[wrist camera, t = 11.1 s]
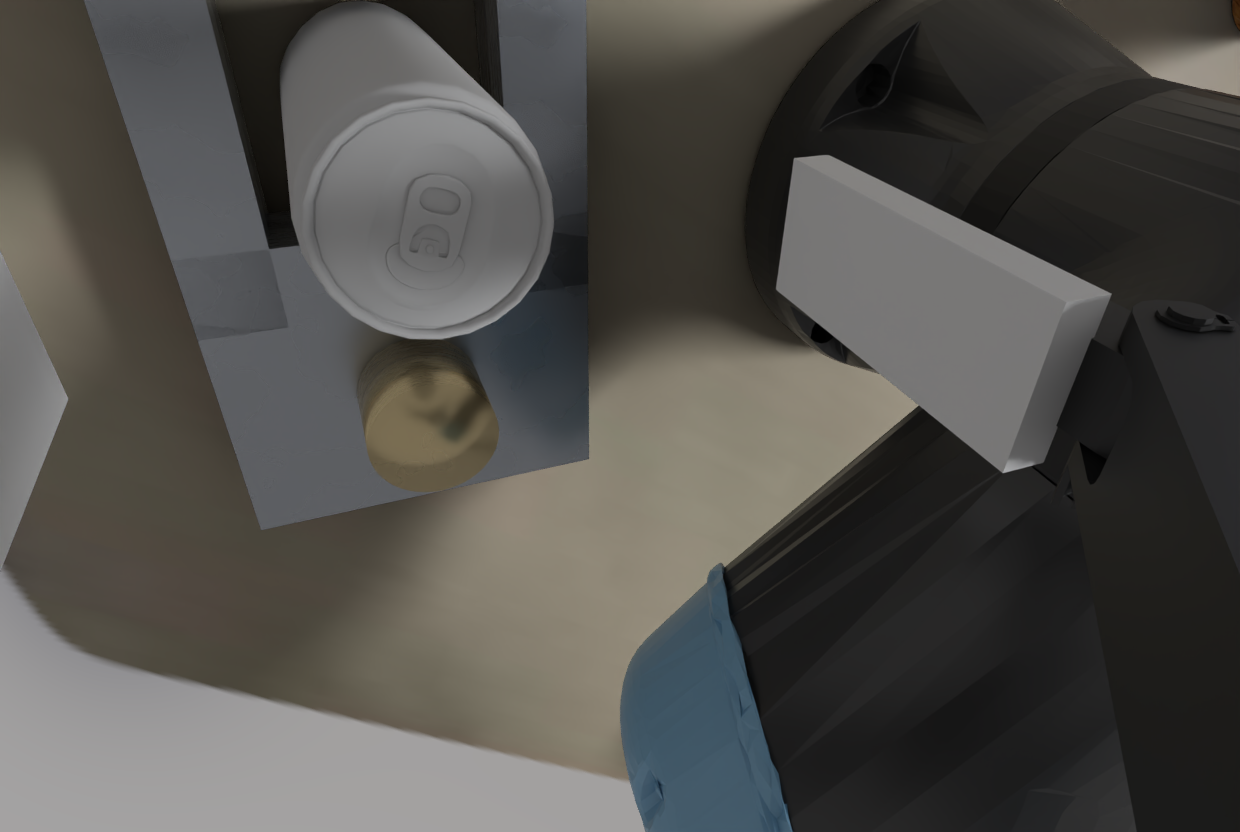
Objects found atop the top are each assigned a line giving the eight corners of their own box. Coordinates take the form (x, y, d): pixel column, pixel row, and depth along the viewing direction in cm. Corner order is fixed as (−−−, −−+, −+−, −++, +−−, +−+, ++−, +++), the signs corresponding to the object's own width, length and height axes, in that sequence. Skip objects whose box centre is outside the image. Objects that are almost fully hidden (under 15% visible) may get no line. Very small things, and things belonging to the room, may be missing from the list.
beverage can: (268, 146, 23) (275, 328, 14) (289, -29, 21) (313, 50, 12) (428, 183, 26) (523, 360, 16) (462, 28, 23) (593, 132, 14)
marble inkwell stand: (539, -572, 17) (640, -728, 13) (565, 417, 33) (615, 506, 28) (-115, -703, 14) (-303, -988, 9) (261, 478, 29) (261, 591, 25)
